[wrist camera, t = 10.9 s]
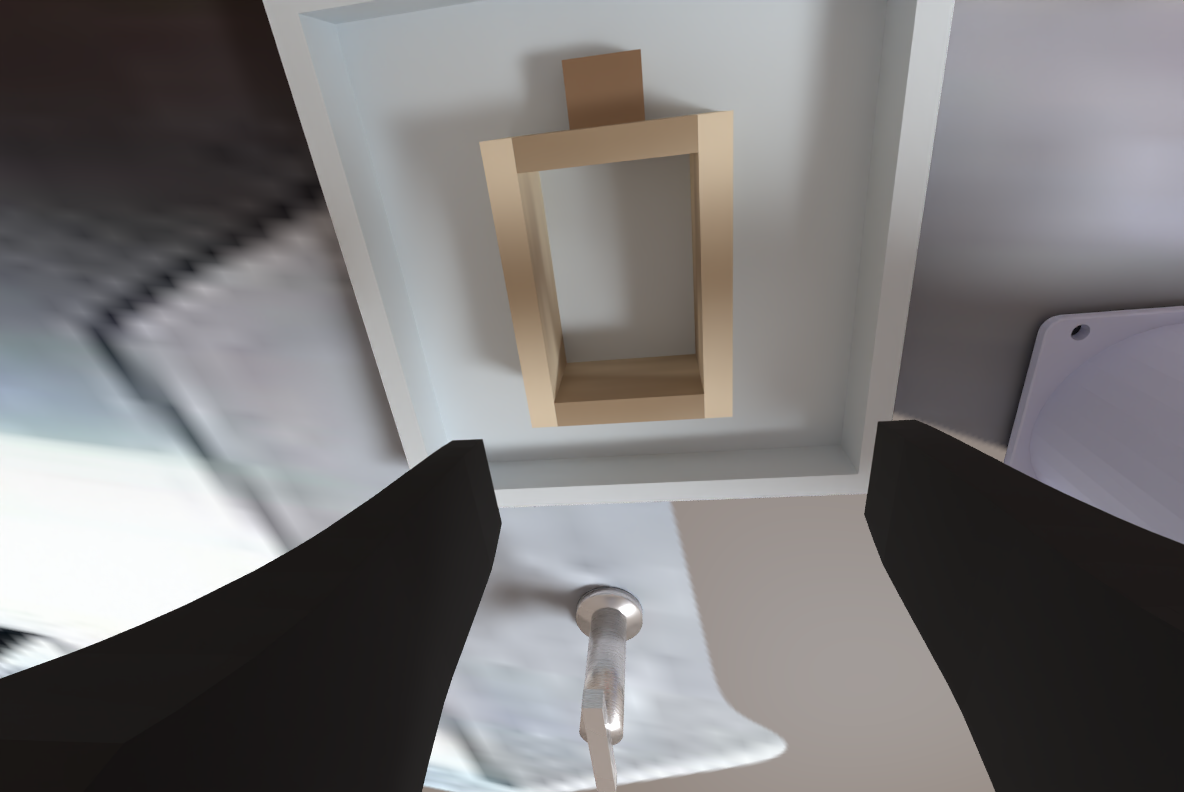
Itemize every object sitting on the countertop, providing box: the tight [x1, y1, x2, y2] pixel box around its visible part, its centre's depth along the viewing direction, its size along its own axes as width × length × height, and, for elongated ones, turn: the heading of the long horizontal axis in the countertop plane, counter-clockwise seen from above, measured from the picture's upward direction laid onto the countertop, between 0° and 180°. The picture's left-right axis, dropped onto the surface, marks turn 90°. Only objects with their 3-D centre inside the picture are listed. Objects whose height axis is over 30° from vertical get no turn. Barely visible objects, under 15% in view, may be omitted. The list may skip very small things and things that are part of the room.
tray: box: [263, 0, 955, 508], centre depth 17 cm, size 16×16×2 cm
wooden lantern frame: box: [479, 49, 733, 428], centre depth 16 cm, size 10×6×3 cm, turn 6°
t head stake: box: [576, 587, 642, 792], centre depth 22 cm, size 3×5×6 cm, turn 7°
